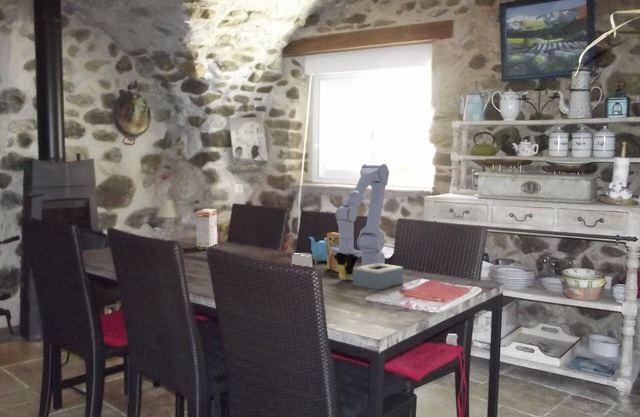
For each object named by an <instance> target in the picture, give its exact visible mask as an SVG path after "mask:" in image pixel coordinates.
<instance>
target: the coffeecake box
mask: <svg viewBox="0 0 640 417" xmlns="http://www.w3.org/2000/svg"><path fill="white" fill-rule="evenodd" d="M217 211H218V210H217V208H203V209H200V210H197V211H195V223H196V224H195V225H196V227H195V228H196V229H195V230H196V247H197V246H200V247H207V248H208V247H210V246H213V245H215V244H217V245H218V223H217V220H218V215H217Z"/></svg>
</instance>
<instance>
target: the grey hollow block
mask: <svg viewBox="0 0 640 417" xmlns="http://www.w3.org/2000/svg"><path fill="white" fill-rule="evenodd" d="M352 278H353V281H352V283H353V284H352V285H353V286H356V287H360V288H366V289H371V290H376V291H381V290H385V289H389V288H393V287H397V286H402V285H403V284H404V266H399V265H394V264H388V263H385V264H382V263H374V264H369V265H364V266H362V265H361V266H356V267H355V266H354V268H353V277H352Z"/></svg>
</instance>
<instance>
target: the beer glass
mask: <svg viewBox="0 0 640 417" xmlns="http://www.w3.org/2000/svg"><path fill="white" fill-rule="evenodd" d="M312 254H313V253H309V252H298V253H292V254H291V257H292V258H291V265H292V264H295V265H302V266H309V267H313V262H312Z"/></svg>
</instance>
